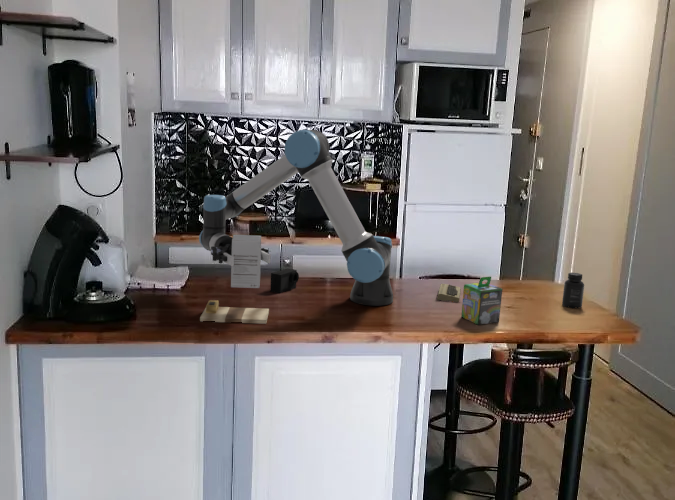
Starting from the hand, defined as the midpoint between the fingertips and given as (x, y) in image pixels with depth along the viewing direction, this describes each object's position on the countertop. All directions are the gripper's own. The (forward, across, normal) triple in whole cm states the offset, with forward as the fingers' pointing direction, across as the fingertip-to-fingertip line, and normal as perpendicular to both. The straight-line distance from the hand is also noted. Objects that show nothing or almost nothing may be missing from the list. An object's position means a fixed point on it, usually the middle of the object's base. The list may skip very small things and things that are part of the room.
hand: (251, 260), depth 198 cm
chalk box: (+29, -69, -18) cm, 77 cm away
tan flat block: (+2, -79, -19) cm, 82 cm away
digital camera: (-27, -26, -19) cm, 42 cm away
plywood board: (-4, +3, -19) cm, 19 cm away
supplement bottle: (+30, -113, -18) cm, 118 cm away
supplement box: (-4, 0, -9) cm, 10 cm away
